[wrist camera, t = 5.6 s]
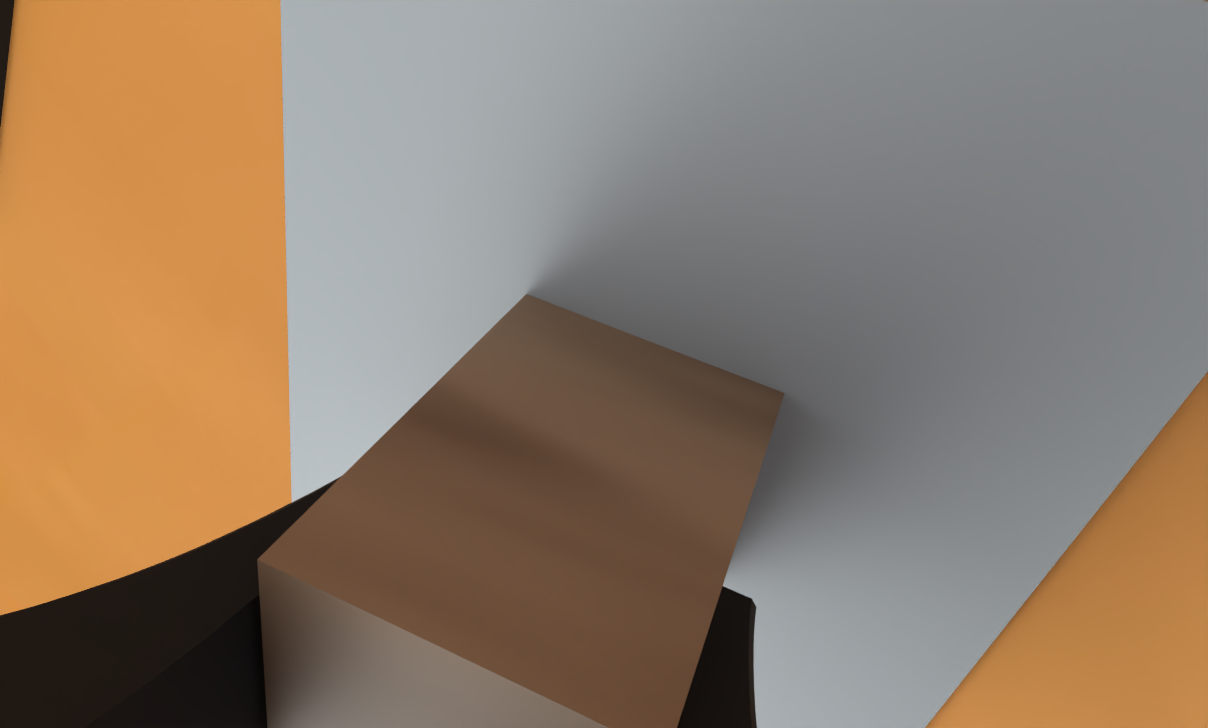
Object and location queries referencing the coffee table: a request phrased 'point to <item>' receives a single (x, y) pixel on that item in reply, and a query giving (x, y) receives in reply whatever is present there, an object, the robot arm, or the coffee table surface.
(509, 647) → the walnut block
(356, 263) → the slate board
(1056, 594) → the coffee table surface
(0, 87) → the cell phone
